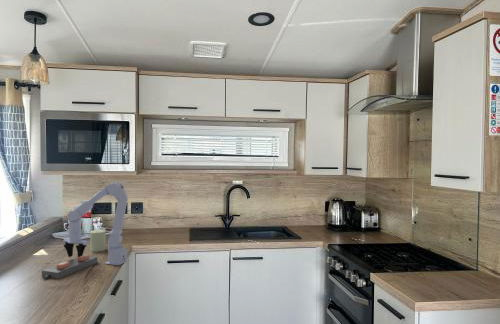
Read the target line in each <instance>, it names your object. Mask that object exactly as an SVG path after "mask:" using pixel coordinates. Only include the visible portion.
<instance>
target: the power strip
mask: <svg viewBox="0 0 500 324" xmlns="http://www.w3.org/2000/svg"><path fill="white" fill-rule="evenodd" d="M65 262H70V266H68V267H65V268H63V269H58V268H57V264H56V265H53V266H51V267H46V268H44V269H42V270H41V277H42V276H43V278H42V279H43V280H46V279H57V280H58V279H61V278H63V277H65V276H67V275H71V274H72V273H75V272H78V271H80V270H82V269H85V268H88V267H90V266H93V265H94V264H97V263H98V256H91V255H89V259H86V260H84V261H77V257H75V258H72V259H68V260H67V261H65ZM92 264H93V265H92Z"/></svg>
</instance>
